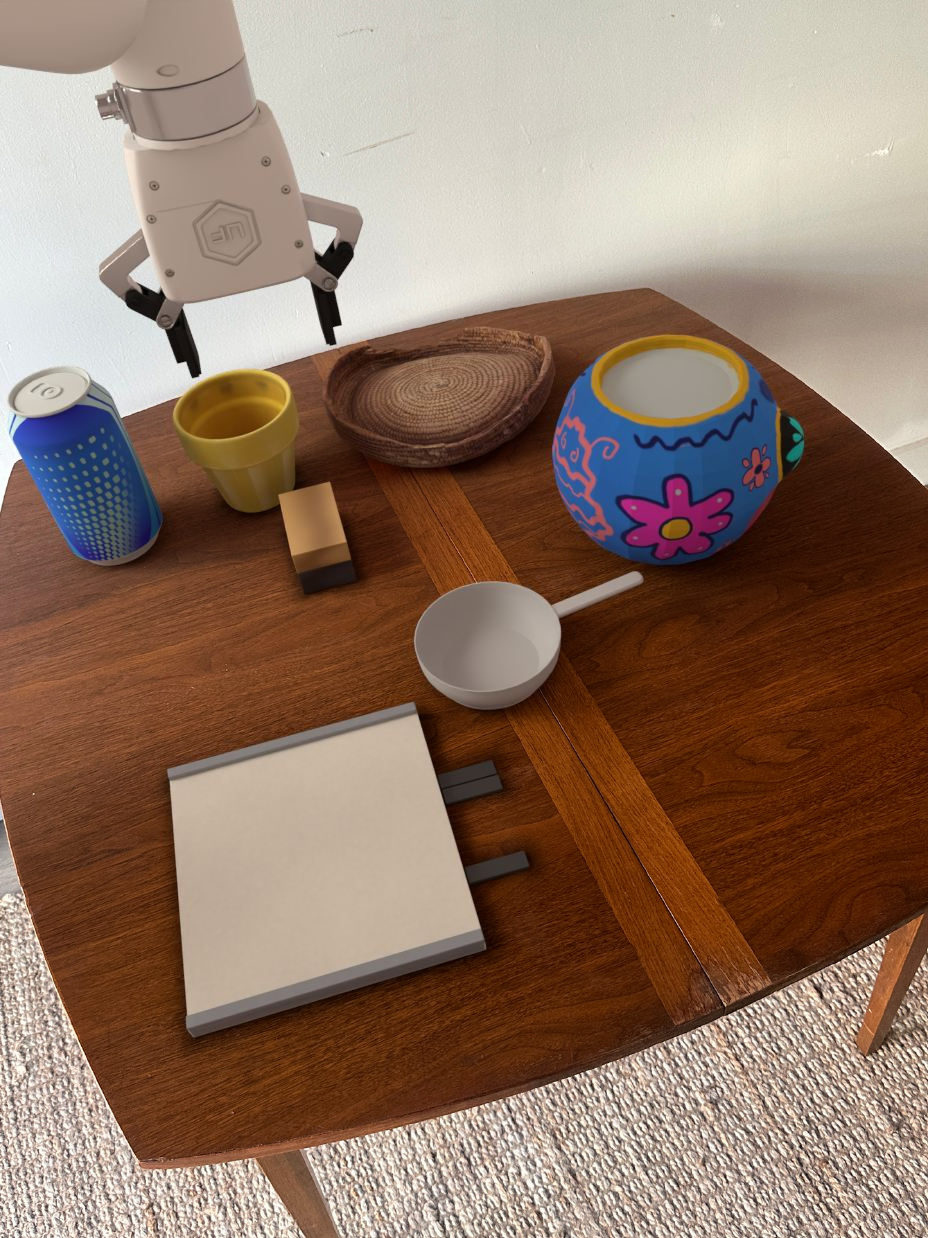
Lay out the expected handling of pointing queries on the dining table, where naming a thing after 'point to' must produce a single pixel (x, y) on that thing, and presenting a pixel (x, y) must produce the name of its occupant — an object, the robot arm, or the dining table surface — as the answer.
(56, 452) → the beer can
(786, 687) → the dining table surface
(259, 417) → the flower pot
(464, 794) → the marker stroke
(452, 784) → the bar
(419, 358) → the basket
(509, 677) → the saucepan
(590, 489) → the ceramic pot
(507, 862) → the block
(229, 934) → the whiteboard
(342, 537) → the eraser
